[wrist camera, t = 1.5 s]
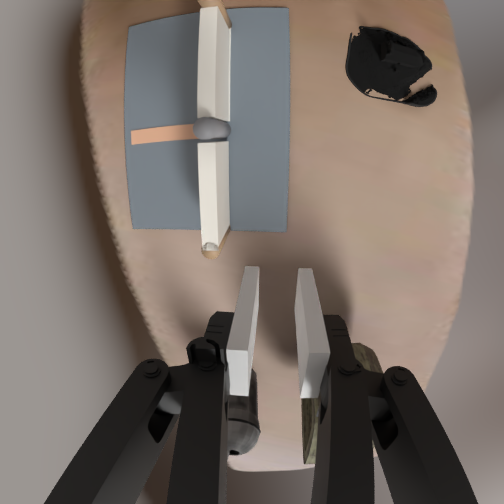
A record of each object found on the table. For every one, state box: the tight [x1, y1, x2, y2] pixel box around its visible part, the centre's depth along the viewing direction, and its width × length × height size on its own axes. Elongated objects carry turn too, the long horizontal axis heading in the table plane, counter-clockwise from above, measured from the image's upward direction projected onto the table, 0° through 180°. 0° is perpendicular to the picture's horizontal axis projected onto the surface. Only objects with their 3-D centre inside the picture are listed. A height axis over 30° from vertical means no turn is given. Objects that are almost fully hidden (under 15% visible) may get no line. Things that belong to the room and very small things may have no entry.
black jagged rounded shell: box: [346, 26, 437, 107], centre depth 22 cm, size 12×10×5 cm
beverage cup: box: [227, 369, 261, 459], centre depth 35 cm, size 7×7×20 cm
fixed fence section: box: [193, 0, 232, 140], centre depth 23 cm, size 16×2×9 cm, turn 0°
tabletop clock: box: [302, 343, 383, 464], centre depth 29 cm, size 14×9×25 cm, turn 3°
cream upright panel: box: [198, 141, 231, 259], centre depth 28 cm, size 11×2×7 cm, turn 0°
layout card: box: [124, 8, 290, 232], centre depth 28 cm, size 28×20×1 cm
